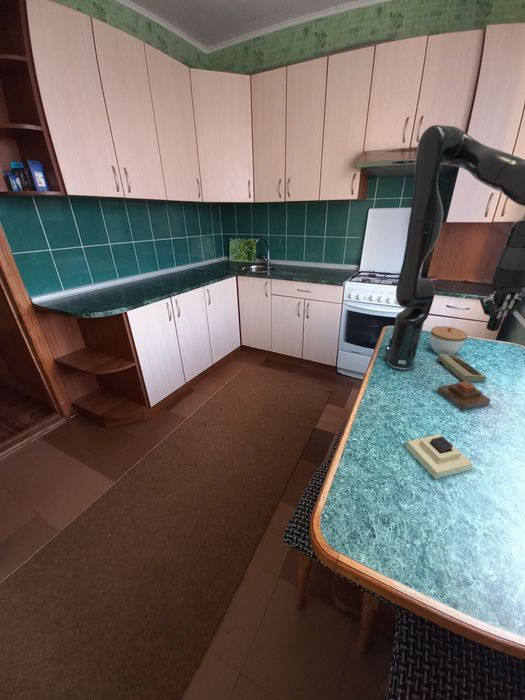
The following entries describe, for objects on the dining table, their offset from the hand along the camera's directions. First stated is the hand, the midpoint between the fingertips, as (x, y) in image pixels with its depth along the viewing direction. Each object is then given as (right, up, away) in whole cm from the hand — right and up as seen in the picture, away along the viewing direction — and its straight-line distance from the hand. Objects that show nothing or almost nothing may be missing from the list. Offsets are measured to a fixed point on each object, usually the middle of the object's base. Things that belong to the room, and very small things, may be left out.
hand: (491, 329), depth 80 cm
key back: (+1, -18, +12) cm, 22 cm away
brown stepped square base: (+1, -21, +13) cm, 25 cm away
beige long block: (+10, -14, +28) cm, 33 cm away
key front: (-20, -29, -9) cm, 37 cm away
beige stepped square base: (-20, -33, -8) cm, 39 cm away
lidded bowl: (+13, -7, +42) cm, 44 cm away
